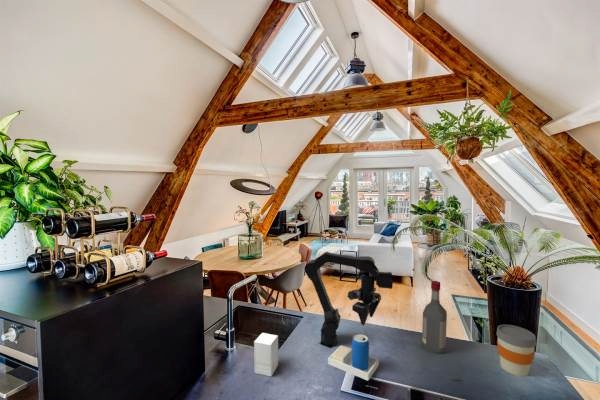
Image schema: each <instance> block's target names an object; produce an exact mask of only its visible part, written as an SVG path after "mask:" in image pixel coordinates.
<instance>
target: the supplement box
mask: <svg viewBox="0 0 600 400" xmlns="http://www.w3.org/2000/svg"><path fill="white" fill-rule="evenodd" d="M253 346H254V347H253V351H254V352H253V353H254V354H253V357H254V359H253V360H254V362H253V363H254V364H253V365H254V374H256V375H257V374H258V375H262V376H265V377H266V376H267V377H272V376H273V375H274V373H275V371H276V370H277V368H278V366H279V335H276V334H272V333H271V334H270V333H266V332H261V334H259V336H258V337H257V338H255V340H254V341H253Z"/></svg>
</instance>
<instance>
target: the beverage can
mask: <svg viewBox="0 0 600 400" xmlns="http://www.w3.org/2000/svg"><path fill="white" fill-rule="evenodd" d="M351 342H352V344H351V345H352V346H351V347H352V348H351V349H352V366H353V367H354V368H357V369H359V370H362V371H365V370H367V369H368V367H369V356H370V341H369V338H368V336H367V335H365V334H362V333H361V334H360V333H359V334H355V335H353V336H352V341H351Z"/></svg>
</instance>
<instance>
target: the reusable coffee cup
mask: <svg viewBox="0 0 600 400" xmlns="http://www.w3.org/2000/svg"><path fill="white" fill-rule="evenodd" d="M496 336H497V340H496V344H497V345H496V347H497V352H498V355H499V361H500V362H499V363H500V367H501V368H502V369H503V370H504V371H505V372H507V373H510V374H512V375H515V376H519V377H526V376H528V375H529V372H530V368H531V364H533V361H534V357H535V353H536V351H535V347H536V346H537V339H536V335H535V334H534V333H533V332H531V331H530V330H528V329H527V328H523V327H521V326H517V325H512V324H500V325H498V326H497V328H496Z"/></svg>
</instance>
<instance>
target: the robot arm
mask: <svg viewBox="0 0 600 400" xmlns="http://www.w3.org/2000/svg"><path fill="white" fill-rule="evenodd" d="M327 263H331V264H334V265H335V264H336V265H341V266H347V267H352V268H355V269H357V270H358V272H356V276H357V277H360V288H357V289H352V290H349V291H348V292H347V298H348V299H349V300H350V301H352V300H357V302H355V303H354V304H353V305H352V306H351V307H352V310H351V311H354V312H355V313H356V314H358V317H359V318H358V319H359V321H360V324H361V326H365V324H366V322H367V319H368V316H369V317H370V318H373V317H374V314H375V312H376V310H377V308H378V306H379V304H380V302H381V301H382V295H381V294H380V293H379V292H376V291H377V288H376V287H375V284H376V286H377V287H378V288H380V289H388V290H389V289H391V290H392V289H393V283H394V282H393V273H392V272H390V271H387V272H386V271H385V272H384V271H380V270H379V269H378V267H377V265H376V263H375V260H374V258H373V257H372V256H366V255H365V256H364V255H363V256H351V255H350V256H349V255H344V254H338V253H333V252H329V251H325V252H323V253H322V254H321V255H319V256H317V257H316V258H315V259H310V260H309V261H308V262H307V263H306V265H304V270H303V271H304V273H305V274H306V276H307V278H308V279H309V280H310V281H311V282H312V284H313V287H314V289H315V292H316V295H317V298H318V300H319V302H320V305H321V308H322V310H323V316H324V317H323V318H324V321H323V323H322V326H321V328H320V342H319V343H318V344H319V345H321V346H324V347H326V348H329V349H332V348H334V347H335V346H337V344H338V343H339V342H338V335H337V330H338V329H339V325H340V322H341V317H342V316H341V314H340V313H339V308H334V307H333V305H332V303H331V300H330V297H329V295H328V292H327V289H326V286H325V284H324V281H323V279H322V271H321V268H322V267H323V266H324V265H326V264H327ZM375 279H376V280H375ZM375 281H376V282H375Z"/></svg>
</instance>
